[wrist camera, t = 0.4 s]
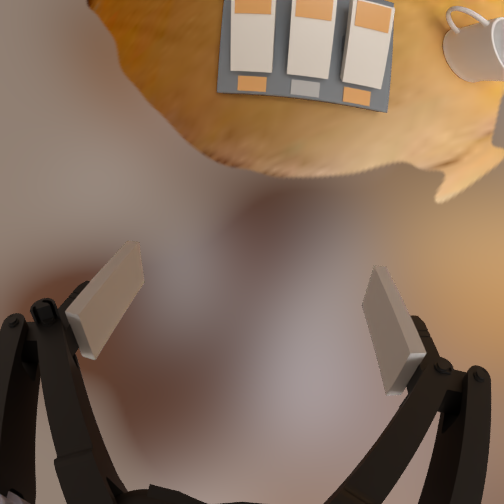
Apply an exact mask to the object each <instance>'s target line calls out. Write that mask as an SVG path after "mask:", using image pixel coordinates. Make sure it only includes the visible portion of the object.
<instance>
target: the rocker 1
mask: <svg viewBox="0 0 504 504" xmlns="http://www.w3.org/2000/svg"><path fill="white" fill-rule="evenodd" d="M276 2H277V0H231V71H251V72H268V73H272V70H273V56H274V39H275V21H276Z"/></svg>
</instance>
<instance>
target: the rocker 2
mask: <svg viewBox="0 0 504 504" xmlns="http://www.w3.org/2000/svg"><path fill="white" fill-rule="evenodd" d="M336 8H337V0H292V10H291V24H290V38H289V52H288V65H287V74H291V75H300V76H308V77H316V78H323V79H328V76H329V68H330V61H331V53H332V44H333V36H334V27H335V18H336Z"/></svg>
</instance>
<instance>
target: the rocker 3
mask: <svg viewBox="0 0 504 504" xmlns="http://www.w3.org/2000/svg"><path fill="white" fill-rule="evenodd" d="M394 12H395V8H393V7H389V6H386V5H382V4H378V3H374V2H370V1H366V0H350V3H349V12H348V21H347V29H346V37H345V45H344V53H343V60H342V67H341V74H340V78H341V80H342V82H347V83H353V84H358V85H363V86H368V87H372V88H377V89H381V87H382V82H383V77H384V72H385V67H386V61H387V56H388V50H389V44H390V38H391V32H392V26H393V19H394Z"/></svg>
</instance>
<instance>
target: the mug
mask: <svg viewBox="0 0 504 504" xmlns="http://www.w3.org/2000/svg"><path fill="white" fill-rule="evenodd" d="M452 11H461V12H464V13H466V14H468V15H470V16H472V17H474V18H475V19H476V20H478V21H479V22H480V23H476V24H472V25H469V26H466V27H462V28H457V27H456V25H455V24H454V23H453V21H452V19H451V15H450V14H451V12H452ZM446 20H447V22H448V24H449V26H450V28H451V30H449V31H448V32H447V33H446V35H445V37H444V40H443V51H444V55H445V58H446V61H447V63H448V65H449V66H450V68H451V69H452V70H453V72H454V73H455V74H456V75H457V76H459V77H460V78H461V79H463V80H465V81H468V82H478V81H504V17H499V18H495V19H491V20H486V19H485V18H483V17H482V16H481V15H479V14H478V13H476V12H474V11H472V10H470V9H468V8H465V7H461V6H453V7H451V8H449V9H448V10H447V12H446Z"/></svg>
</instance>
